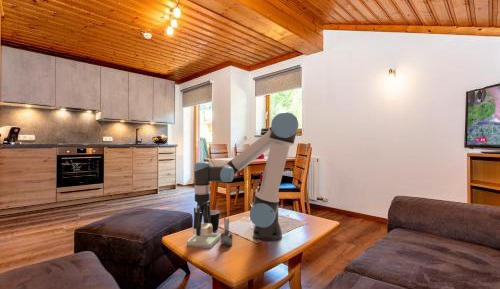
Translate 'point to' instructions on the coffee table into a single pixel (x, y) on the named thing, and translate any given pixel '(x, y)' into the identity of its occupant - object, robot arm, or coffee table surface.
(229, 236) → the peg stand
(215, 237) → the tray
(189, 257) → the coffee table surface
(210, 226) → the white hollow block
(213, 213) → the mug
